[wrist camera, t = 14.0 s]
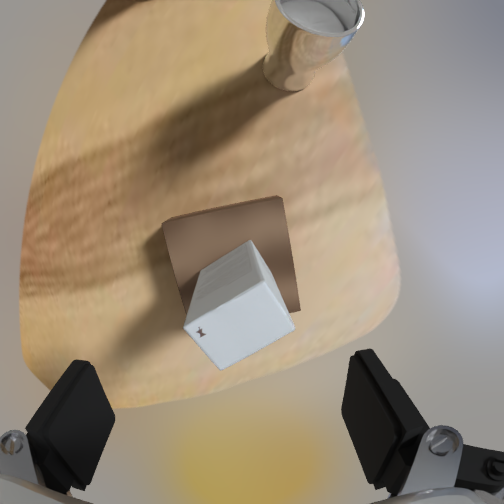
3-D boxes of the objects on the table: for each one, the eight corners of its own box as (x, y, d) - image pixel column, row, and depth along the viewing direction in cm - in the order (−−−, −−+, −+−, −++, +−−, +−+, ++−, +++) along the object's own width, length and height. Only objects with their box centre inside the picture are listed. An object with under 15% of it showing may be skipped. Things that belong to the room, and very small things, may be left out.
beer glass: (265, 99, 29) (284, 41, 15) (252, 48, 28) (261, -28, 13) (324, 92, 29) (379, 40, 15) (310, 42, 27) (349, -27, 13)
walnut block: (172, 216, 33) (161, 223, 28) (275, 195, 32) (282, 198, 28) (197, 311, 36) (191, 330, 31) (292, 293, 35) (300, 310, 31)
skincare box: (223, 302, 30) (218, 373, 18) (199, 269, 29) (179, 327, 17) (274, 272, 29) (298, 331, 18) (251, 237, 28) (263, 277, 17)
